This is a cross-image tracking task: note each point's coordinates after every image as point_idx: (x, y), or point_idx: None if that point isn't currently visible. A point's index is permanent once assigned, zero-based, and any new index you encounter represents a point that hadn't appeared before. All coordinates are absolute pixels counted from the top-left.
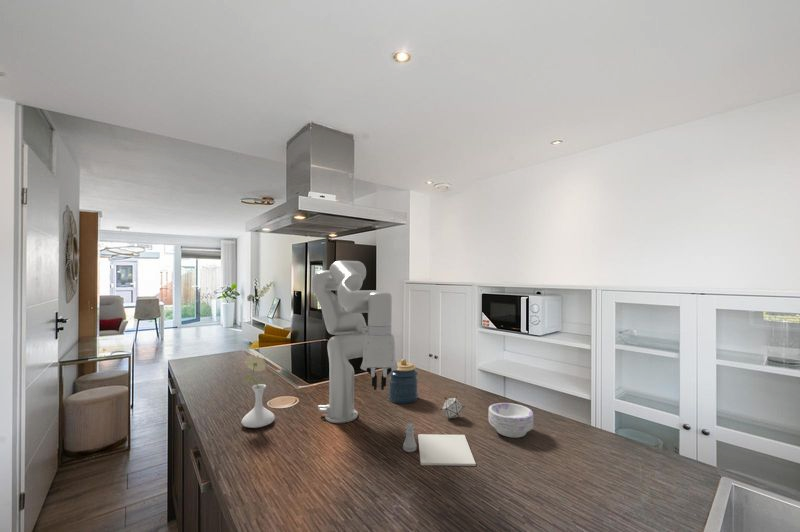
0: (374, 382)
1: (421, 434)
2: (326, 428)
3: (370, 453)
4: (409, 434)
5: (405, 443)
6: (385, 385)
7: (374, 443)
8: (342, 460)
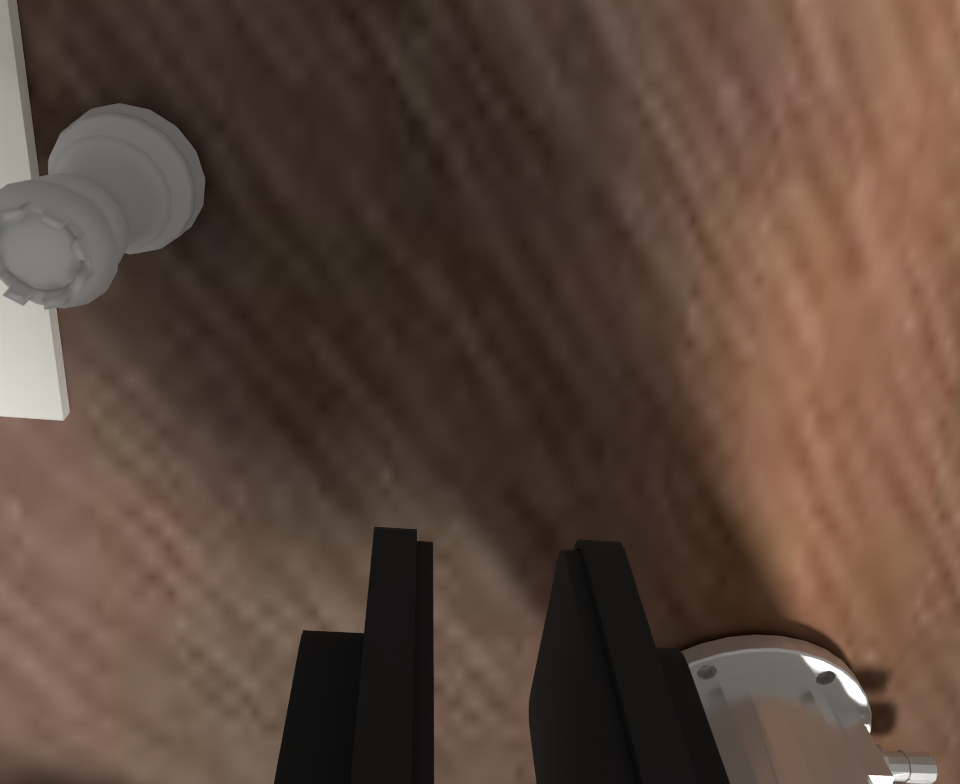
0: (653, 680)
1: (27, 413)
2: (870, 568)
3: (530, 125)
4: (78, 178)
5: (161, 168)
6: (309, 638)
7: (483, 307)
8: (810, 12)
